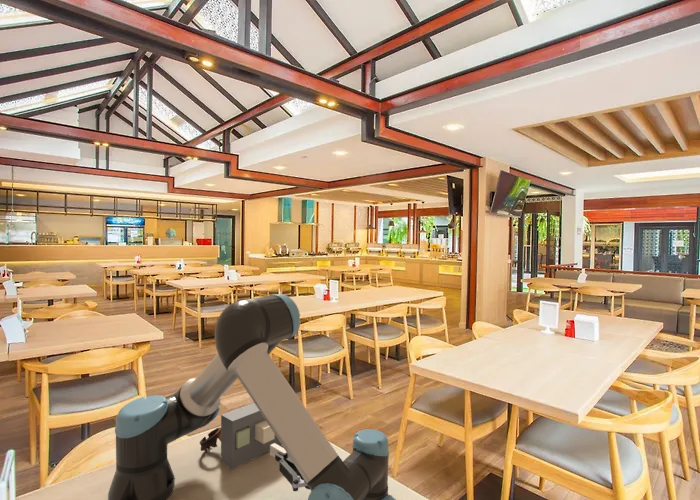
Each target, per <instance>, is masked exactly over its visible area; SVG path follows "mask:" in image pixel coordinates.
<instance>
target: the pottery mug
mask: <svg viewBox="0 0 700 500" xmlns="http://www.w3.org/2000/svg"><path fill="white" fill-rule="evenodd" d="M207 436H208V437H206V436H203V438H202V439H201V440H200V441H199V445H200V451H202V452H205V453H208V450H209V449H210V448H217V447H218V445H217V442H218V440H219V442H221V426H220V427H216V428H215V429H213V430H212V431H210V432H209V433H207Z"/></svg>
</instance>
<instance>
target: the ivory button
mask: <svg viewBox="0 0 700 500" xmlns="http://www.w3.org/2000/svg"><path fill="white" fill-rule="evenodd" d="M255 439H256V440H258V441H259V442H261V443H263V444H264V443H267V442H269V441H271V440H273V439H274V432H273V431H272V429H271V428H270V426H269V425H268V423H267V421H266V420H265V419H264V420H262V421H259V422H257V423H255Z"/></svg>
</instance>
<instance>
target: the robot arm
mask: <svg viewBox="0 0 700 500" xmlns="http://www.w3.org/2000/svg"><path fill="white" fill-rule="evenodd" d="M300 317H301V313H300V310H299V308H298V305H297V304H296V302H295V301H294V300H293V299H292V298H291V297H289V296H288V295H286V294H282V293H278V294H276V293H272V294H268V295H265V296H264V295H263V296H260V297H254V298H248V299H239V300H236V301H234V302H232V303H230V304H229V305H228V306H227V307H225V308H224V309H223V311H221V313H220V314H219V316H218V318H217V321H216V323H215V328H214V342H215V348H216V351H217V353H216V355H215V356H214V357H213V358H212V360H211V361H210V362H209V363H208V364H207V365H206V366H205V368H204V369H202V371H201V372H200V373H199V374H198V375H197V376H196V377H193V378H190V379H188V380H186V381H185V382H184V383H183V385H181V387H180V388H178V390H177V391H176V392H174V393H173V394H170V395H167V396H164V395H160V394H152V395H148V396H142V397H139V398H136V399H134V400H132V401H129V402H128V403H127V404H125V405H124V406H123V407H122V408H121V409H120V410H119V411H118V413H117V415H116V418H115V419H116V420H115V427H114V433H115V472H114V475H113V478H112V480H111V484H110V487H109V489H108V493H107V500H167V499H168V498H169V497H170V496H171V495H172V493H173V492H174V490H175V485H176V484H175V483H176V482H175V481H176V479H175V475H174V472H173V469H172V467H171V464H170V461H169V459H168V445H169V444H171V443H172V442H174V441H176V440H178V439H180V438H182V437H184V436H186V435H189V434H190V433H193V432H194V431H196V430H198V429H201V428H203V427H205V426H207V425H209V424H210V423H211V422H213V421H214V420H215V419H216V418H217V416H218V414H219V412H220V409H221V408H220V405H221V397H222V396H223V395H224V394H225V393H226V392H227V391H228V390H229V389H230V388H231V387H232V386H233V385H234V384H235V383H236V382H237V381H238V379H239V381H240V383H241V384H242V387H244V389H245V391H246V392H247V393H248V395H249V396H250V398H251V400H252V401H253V403H255V404H256V406H257V408H258V409H259V411H260V412H261V414H262V415H263V417H264V418H265V420H266V421H267V423H268V425H269V426H270V428H271V429H272V431H273V432H274V434H275V435H276V437H277V438H278V440H279V441H280V443H281V446H279V445H277V444H275V443H274V444H271V445H270V451H269V456H271V457H272V458H274V459H275V461H277V463H279V464H278V465H279V466H278V467H279V470H278V471H279V472H280V473H281V474H282V476H283V477H284V478H285V479H286V480H287V481H288V483H290V485H291V487H292V491H293V492H298V491H299V488H305V489H306V490H310V492H309V495H308V498H307V500H397V499H396V498H395V497H393V495H391V494H389V485H388V480H389V479H388V478H389V460H390V459H389V456H390V451H389V449H390V448H389V439H388V437H387V435H386V434H385V433H384V432H382V431H380V430H377V429H373V428H368V429H362V430H359V431H357V432H356V433H355V434H354V436H353V440H352V446H351V447H352V452H351V453H350V454H349V455H348V456H347V457H346V458H345V459H344V460H343V459H342V458H341V457H340V456H339V455H338V453H337V452H336V449H334V447H333V446H332V444H331V442H330V441H329V440H328V438H327V437H326V435H325V433H323V431H322V430H321V428H320V427H319V424H317V422H316V421H315V419H314V418H313V416H312V415H311V414H310V412H309V411H308V409H307V408H306V407H305V404H304V403H303V402H302V401H301V399H300V398H299V396H298V395H297V393H296V391H295V390H294V389H293V388H292V386H291V385H290V383H289V382H288V379H286V377H285V376H284V374H283V372H281V370H280V368H279V367H278V365H277V364H276V363H275V361H274V359H273V358H272V357H271V356H270V354H271V353H272V352H273V351H274V350H275V349H276V347H277V346H278V345H279V344H280V343H281V342H283V341H284V340H290V339H291V338H292V337H294V336H295V335H296V334H297V333H298V331H299V330H300V327H301V318H300Z"/></svg>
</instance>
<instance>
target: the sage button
mask: <svg viewBox="0 0 700 500" xmlns="http://www.w3.org/2000/svg"><path fill="white" fill-rule="evenodd" d="M249 443H250V428H248V427H245V428H243V429H240V430H238V431H236V448H237V449H238V448H240V447H242V446H245V445H247V444H249Z"/></svg>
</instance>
